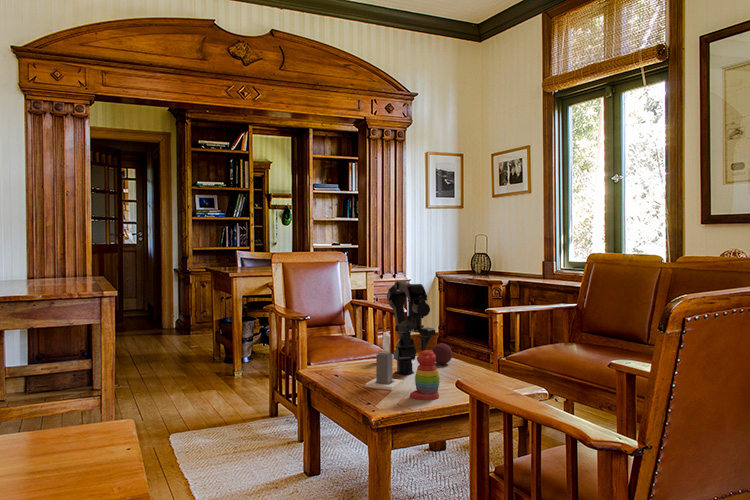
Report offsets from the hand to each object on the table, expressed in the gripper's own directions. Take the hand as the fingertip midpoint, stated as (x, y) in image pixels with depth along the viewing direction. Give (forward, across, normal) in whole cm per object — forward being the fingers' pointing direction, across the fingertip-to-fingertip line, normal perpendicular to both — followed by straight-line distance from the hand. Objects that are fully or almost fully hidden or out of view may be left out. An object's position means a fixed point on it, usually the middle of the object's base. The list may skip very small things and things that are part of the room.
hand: (414, 350), depth 232 cm
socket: (+13, -4, -14) cm, 20 cm away
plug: (+13, -4, -14) cm, 20 cm away
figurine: (+13, -32, +14) cm, 37 cm away
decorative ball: (+13, -12, +32) cm, 37 cm away
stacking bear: (+13, +19, -14) cm, 27 cm away
